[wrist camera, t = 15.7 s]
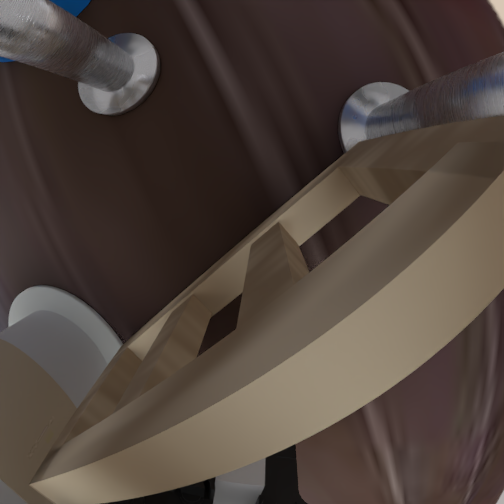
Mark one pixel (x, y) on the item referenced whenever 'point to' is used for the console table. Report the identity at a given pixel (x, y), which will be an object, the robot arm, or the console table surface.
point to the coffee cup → (39, 394)
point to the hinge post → (423, 103)
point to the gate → (297, 321)
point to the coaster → (67, 315)
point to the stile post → (80, 54)
